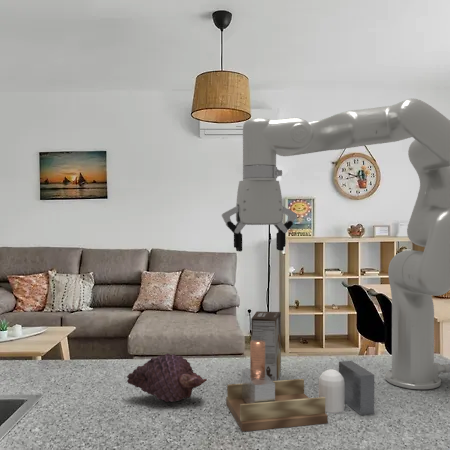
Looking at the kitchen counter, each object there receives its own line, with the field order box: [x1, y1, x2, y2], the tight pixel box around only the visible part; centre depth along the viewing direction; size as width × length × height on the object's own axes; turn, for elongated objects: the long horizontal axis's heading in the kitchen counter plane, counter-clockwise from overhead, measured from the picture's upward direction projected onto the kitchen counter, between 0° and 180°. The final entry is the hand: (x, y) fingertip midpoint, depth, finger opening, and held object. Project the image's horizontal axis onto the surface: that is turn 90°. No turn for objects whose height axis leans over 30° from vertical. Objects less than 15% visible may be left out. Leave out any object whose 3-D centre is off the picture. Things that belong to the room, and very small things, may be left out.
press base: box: [225, 378, 329, 433], centre depth 101 cm, size 17×14×4 cm
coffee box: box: [250, 311, 282, 381], centre depth 121 cm, size 9×6×16 cm
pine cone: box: [126, 353, 208, 403], centre depth 108 cm, size 18×10×10 cm, turn 85°
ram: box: [241, 340, 275, 404], centre depth 100 cm, size 4×10×13 cm, turn 12°
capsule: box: [318, 368, 346, 414], centre depth 104 cm, size 5×5×8 cm
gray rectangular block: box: [338, 360, 375, 416], centre depth 105 cm, size 3×10×8 cm, turn 12°
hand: (259, 250), depth 112 cm, fingers open, 9 cm apart
